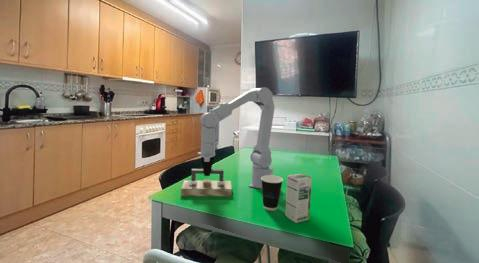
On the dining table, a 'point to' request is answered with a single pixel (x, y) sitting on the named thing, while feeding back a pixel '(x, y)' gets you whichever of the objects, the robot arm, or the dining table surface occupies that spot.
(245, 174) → the dining table surface
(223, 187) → the display stand
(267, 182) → the dixie cup
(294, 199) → the syrup box
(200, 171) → the grey long bar
